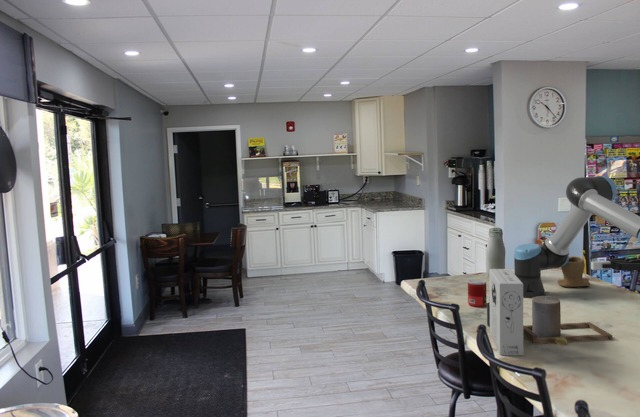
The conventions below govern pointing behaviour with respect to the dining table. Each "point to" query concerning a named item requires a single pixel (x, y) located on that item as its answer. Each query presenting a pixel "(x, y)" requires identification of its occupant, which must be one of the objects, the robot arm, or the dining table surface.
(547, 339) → the frame
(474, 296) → the canned food
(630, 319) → the dining table surface
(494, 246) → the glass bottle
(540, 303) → the pillar candle
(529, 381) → the dining table surface
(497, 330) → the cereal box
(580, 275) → the stone cup
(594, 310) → the dining table surface
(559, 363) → the dining table surface
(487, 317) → the supplement bottle
